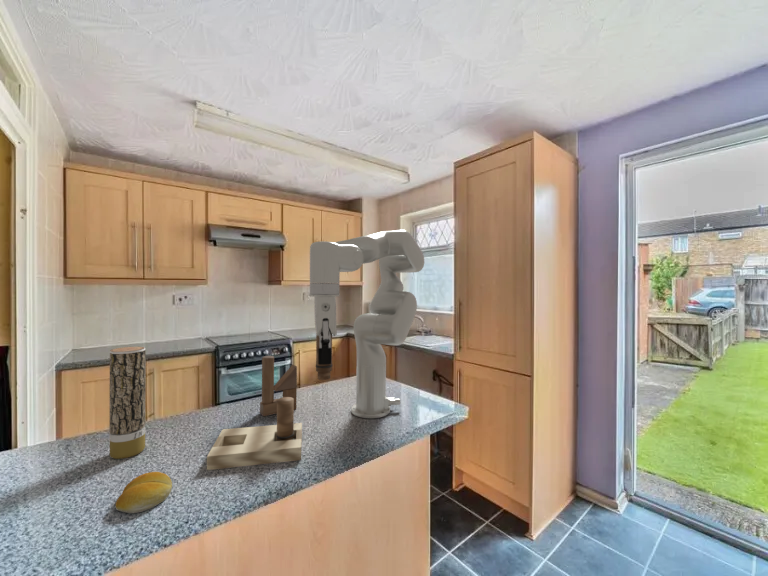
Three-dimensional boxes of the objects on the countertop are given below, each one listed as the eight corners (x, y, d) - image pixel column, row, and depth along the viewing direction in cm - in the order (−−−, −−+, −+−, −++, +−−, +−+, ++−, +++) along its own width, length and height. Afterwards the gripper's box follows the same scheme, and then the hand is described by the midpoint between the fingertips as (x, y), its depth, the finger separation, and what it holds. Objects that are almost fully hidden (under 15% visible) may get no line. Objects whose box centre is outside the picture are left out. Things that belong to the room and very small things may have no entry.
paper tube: (105, 463, 75) (106, 352, 75) (113, 449, 81) (113, 347, 81) (142, 456, 78) (142, 350, 78) (147, 444, 84) (147, 345, 84)
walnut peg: (331, 375, 88) (331, 330, 88) (332, 379, 84) (333, 332, 83) (315, 376, 87) (315, 330, 87) (315, 380, 83) (316, 332, 83)
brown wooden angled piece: (296, 409, 108) (297, 354, 108) (263, 417, 102) (263, 358, 102) (292, 406, 111) (293, 352, 111) (259, 413, 105) (260, 356, 105)
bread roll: (109, 520, 57) (109, 497, 57) (128, 490, 66) (128, 470, 66) (165, 509, 60) (165, 487, 60) (176, 482, 69) (176, 462, 69)
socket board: (301, 433, 91) (301, 422, 91) (301, 460, 77) (301, 447, 77) (222, 440, 86) (222, 429, 86) (206, 470, 73) (206, 456, 73)
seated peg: (294, 442, 86) (294, 396, 86) (293, 450, 82) (293, 401, 81) (277, 444, 85) (277, 397, 85) (275, 452, 81) (275, 403, 80)
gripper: (342, 291, 78) (342, 369, 78) (336, 290, 94) (336, 354, 94) (310, 291, 76) (309, 371, 76) (309, 289, 92) (308, 355, 92)
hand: (324, 361), depth 85 cm, fingers closed on walnut peg, 4 cm apart
